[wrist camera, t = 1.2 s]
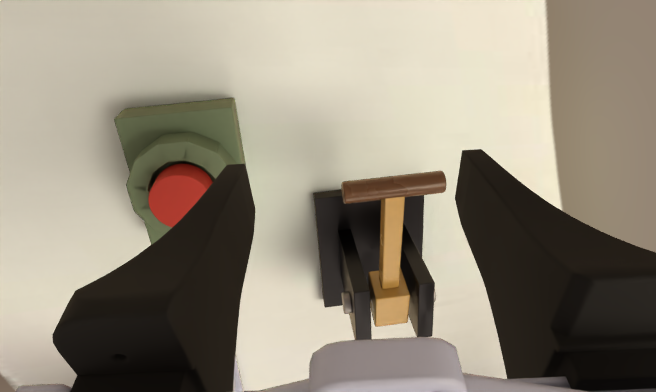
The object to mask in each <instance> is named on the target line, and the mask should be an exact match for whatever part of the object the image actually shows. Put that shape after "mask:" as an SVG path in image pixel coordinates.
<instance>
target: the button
mask: <svg viewBox="0 0 656 392" xmlns="http://www.w3.org/2000/svg"><path fill="white" fill-rule="evenodd" d="M212 183H213V182H212V180H211V178H210V177H209V175H208V174H207V173H206V172H205V171H203V170H202V169H200V168H198V167H196V166H194V165H190V164H174V165H171V166H169V167H167V168H165V169H164V170H163V171H161V173H160V174H159V175H158V177H157V178H156V180H155V182H154V184H153V186H152V188H151V190H150V192H149V197H148V202H149V207H150V209H151V211H152V213H153V214H154V216H155V217H156V218H157V219H158V220H159V221H160V222H162V223H163V224H165V225H167V226H169V227H173V226H175V225H176V224H177V223H178V222H179V221H180V220H181V219H182V218H183V217H184V215H185V214H186V213H187V212H188V211H189V210H190V209H191V208H192V207H193V206H194V205H195V204H196V202H197V201H198V200H199V199H200V198H201V196H202V195H203V194H204V193H205V192H206V190H207V189H208V188H209V187H210V185H211V184H212Z"/></svg>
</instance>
